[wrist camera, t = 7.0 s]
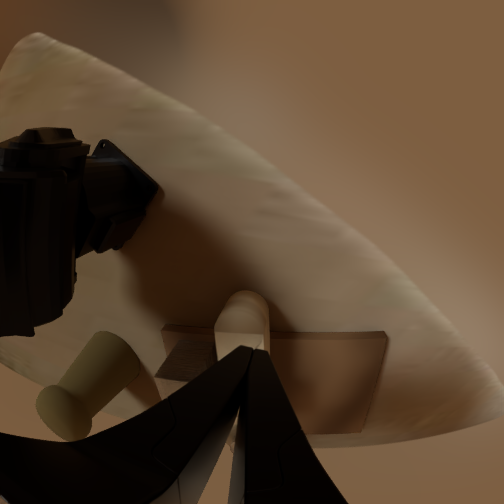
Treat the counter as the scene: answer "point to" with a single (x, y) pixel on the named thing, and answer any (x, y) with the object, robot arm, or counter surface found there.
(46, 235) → the robot arm
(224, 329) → the latch arm
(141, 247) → the counter surface
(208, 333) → the base plate
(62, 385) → the cork
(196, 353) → the keeper
